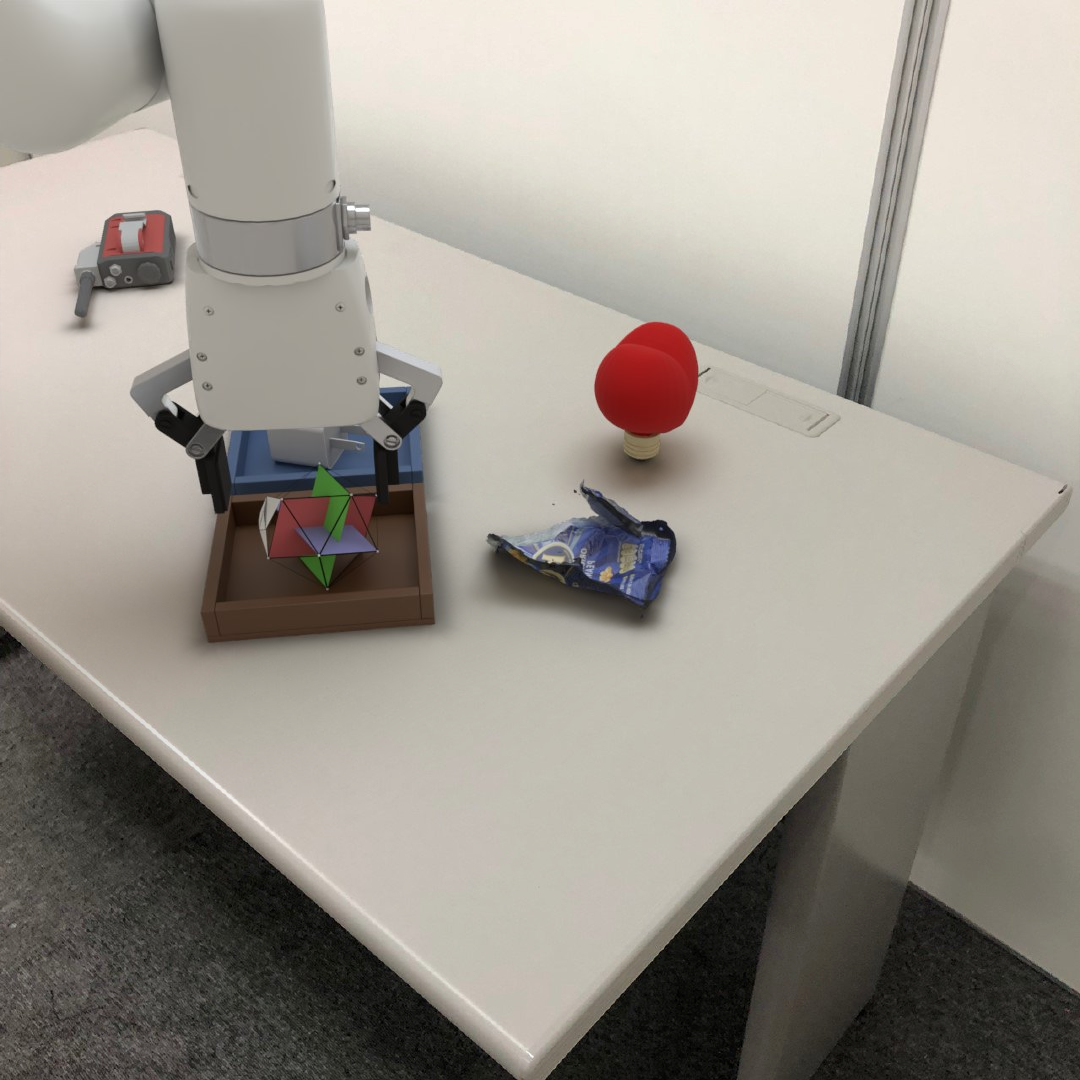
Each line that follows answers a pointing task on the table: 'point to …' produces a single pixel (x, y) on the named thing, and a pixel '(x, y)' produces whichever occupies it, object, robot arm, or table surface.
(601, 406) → the light bulb
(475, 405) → the table surface
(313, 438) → the usb wall charger
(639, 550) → the snack package
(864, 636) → the table surface
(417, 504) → the walnut tray
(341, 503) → the geometric puzzle
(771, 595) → the table surface
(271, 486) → the blue tray
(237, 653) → the table surface
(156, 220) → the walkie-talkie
